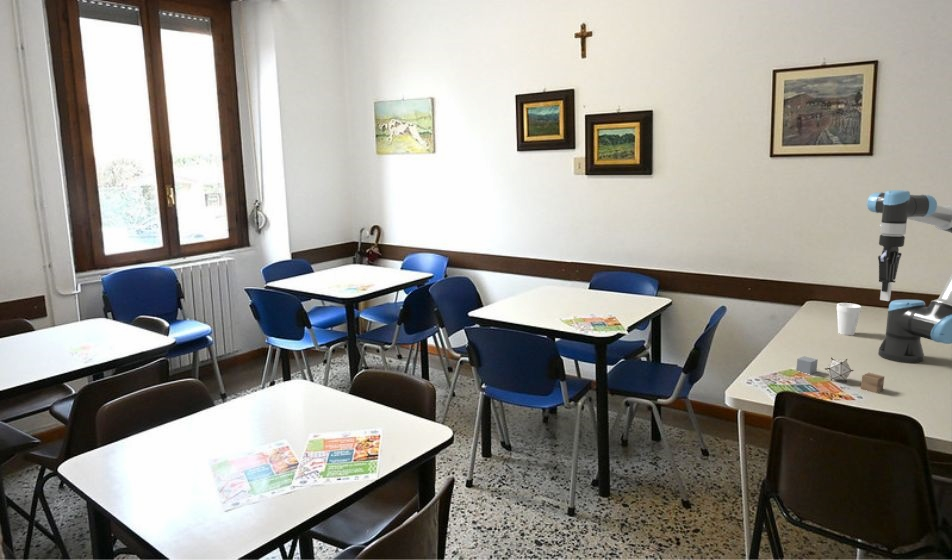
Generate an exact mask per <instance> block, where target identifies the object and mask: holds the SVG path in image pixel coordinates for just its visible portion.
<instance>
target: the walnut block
mask: <svg viewBox="0 0 952 560" xmlns="http://www.w3.org/2000/svg"><path fill="white" fill-rule="evenodd" d="M884 383H885V376H884V375H880V374H878V373H877V374H876V373H874V372H873V373H872V372H867V373H864V374H863V375H862V376H861V383H860V384H861V385H860V390H863V391H866V390H867V392H870V393H871V392H872V393H875V394H877V392H878V393H879V391H880V392H881V390H882V391H883V390H884V386H885V385H884Z"/></svg>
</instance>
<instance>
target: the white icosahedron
mask: <svg viewBox="0 0 952 560" xmlns="http://www.w3.org/2000/svg"><path fill="white" fill-rule="evenodd" d="M824 370H825V371H826V370H827V371H826V372H828V374H829V376H830V380H831V381H833V380H839V381H840V380H841V381H845V383H847V382H848V380H847V379H848V378H849V376H850V374H851V372H854V369H851V367H850V365H849V363H848V358H846V359H833V357H830V362H829V364H828V366H827V367H825V368H824Z"/></svg>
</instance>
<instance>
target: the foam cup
mask: <svg viewBox="0 0 952 560" xmlns="http://www.w3.org/2000/svg"><path fill="white" fill-rule="evenodd" d="M861 310H862V306H861V305H860V304H857V303H851V302H849V303H848V302H838V303H836V313H837V314H836V315H837V316H836V317H837V333H838V334H839V333H840V334H839V335H841V334H844V335H843V336H848V335H851V336H854V335H855V332H856V329H857V325H858V321H859V317H860V314H861Z"/></svg>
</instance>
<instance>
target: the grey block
mask: <svg viewBox="0 0 952 560" xmlns="http://www.w3.org/2000/svg"><path fill="white" fill-rule="evenodd" d="M817 370H818V358H814V357H809V356H801V357H798V358H797V362H796V372H797V371H800V372H799V373H801V372H803V373H802V374H804V373H807V374H806V375H808V374H811V375H813V374H815V372H816V373H817ZM812 373H813V374H812Z"/></svg>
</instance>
